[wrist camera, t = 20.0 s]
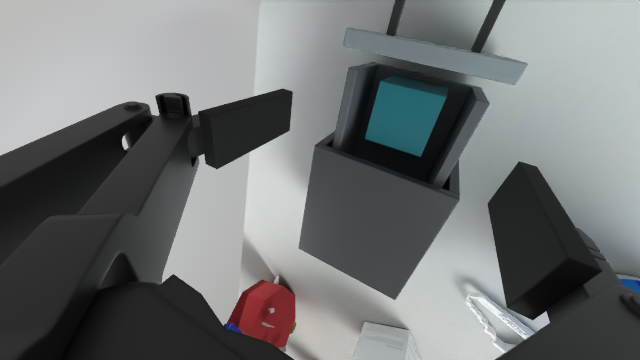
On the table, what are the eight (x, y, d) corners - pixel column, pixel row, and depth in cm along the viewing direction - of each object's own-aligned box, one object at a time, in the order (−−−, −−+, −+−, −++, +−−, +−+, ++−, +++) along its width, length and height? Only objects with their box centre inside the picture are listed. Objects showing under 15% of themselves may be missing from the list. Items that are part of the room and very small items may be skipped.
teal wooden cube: (393, 74, 22) (380, 80, 18) (448, 86, 21) (446, 96, 17) (378, 124, 25) (364, 139, 21) (426, 138, 24) (420, 157, 20)
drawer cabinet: (349, 120, 28) (314, 145, 21) (458, 155, 25) (460, 199, 18) (328, 209, 37) (298, 248, 30) (408, 245, 33) (395, 300, 26)
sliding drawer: (394, -55, 19) (368, -96, 13) (561, -41, 16) (620, -89, 10) (343, 154, 30) (317, 180, 24) (435, 189, 27) (429, 228, 21)
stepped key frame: (446, 295, 34) (446, 306, 33) (477, 283, 31) (478, 294, 29) (520, 357, 33) (523, 371, 32) (560, 352, 30) (565, 367, 28)
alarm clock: (264, 265, 53) (187, 355, 38) (296, 273, 49) (223, 379, 34) (282, 308, 59) (220, 402, 44) (311, 319, 55) (255, 427, 40)
